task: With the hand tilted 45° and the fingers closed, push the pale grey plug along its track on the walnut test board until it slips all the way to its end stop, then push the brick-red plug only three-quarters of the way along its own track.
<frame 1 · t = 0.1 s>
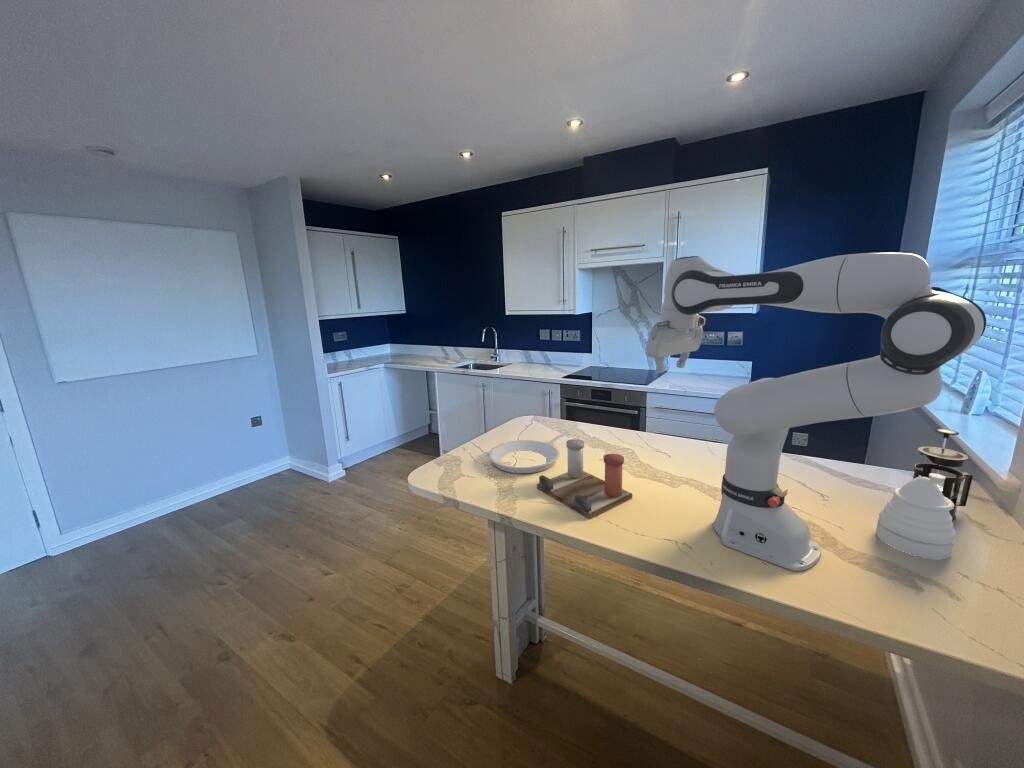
hand: (670, 369, 112), 39 cm above the breakfast bar, tool pointing down, fingers open, 8 cm apart
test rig: (583, 493, 124), on the breakfast bar
french press: (932, 512, 107), on the breakfast bar
pan: (536, 457, 154), on the breakfast bar
honey pot: (911, 542, 96), on the breakfast bar
red plug: (613, 475, 119), point 8 cm above the breakfast bar, slide at 0.0 cm
grey plug: (575, 458, 131), point 8 cm above the breakfast bar, slide at 0.0 cm
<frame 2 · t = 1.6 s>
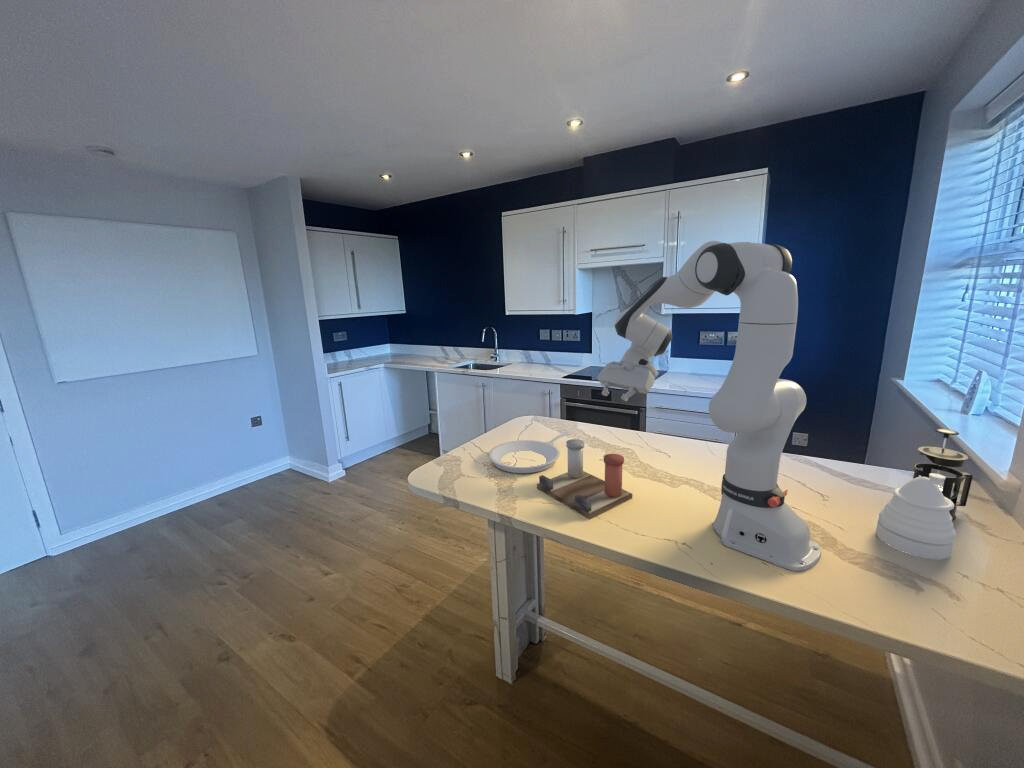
hand: (613, 397, 135), 26 cm above the breakfast bar, tool tilted 45°, fingers open, 7 cm apart
nothing on the breakfast bar moved.
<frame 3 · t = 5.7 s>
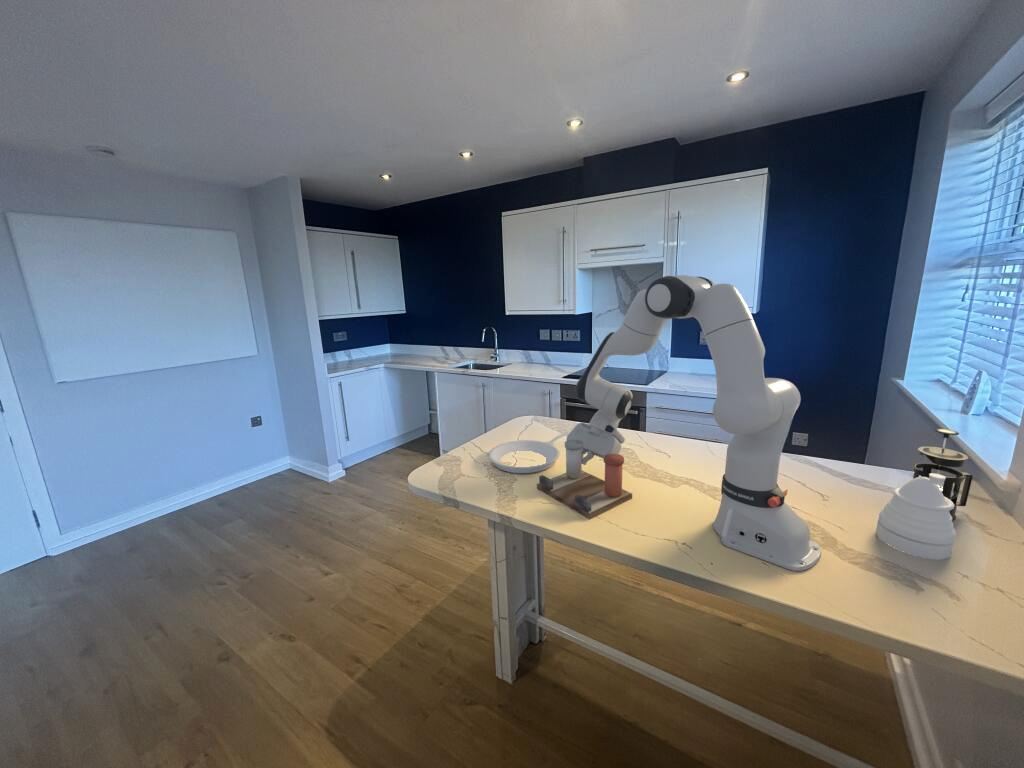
hand: (580, 462, 133), 5 cm above the breakfast bar, tool tilted 45°, fingers closed, pressing on grey plug
grey plug: (573, 459, 131), point 8 cm above the breakfast bar, slide at 0.7 cm, touching gripper
everything else where it was.
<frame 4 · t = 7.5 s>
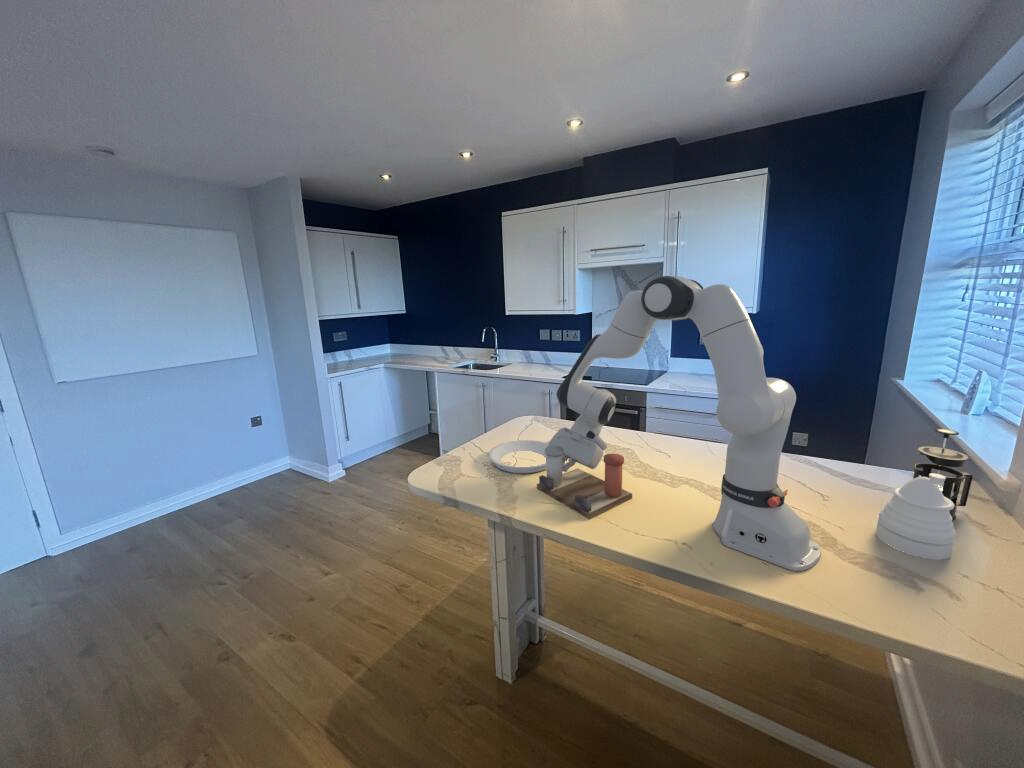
hand: (561, 470, 129), 5 cm above the breakfast bar, tool tilted 45°, fingers closed, pressing on grey plug
grey plug: (554, 466, 126), point 8 cm above the breakfast bar, slide at 9.1 cm, touching gripper
everything else where it was.
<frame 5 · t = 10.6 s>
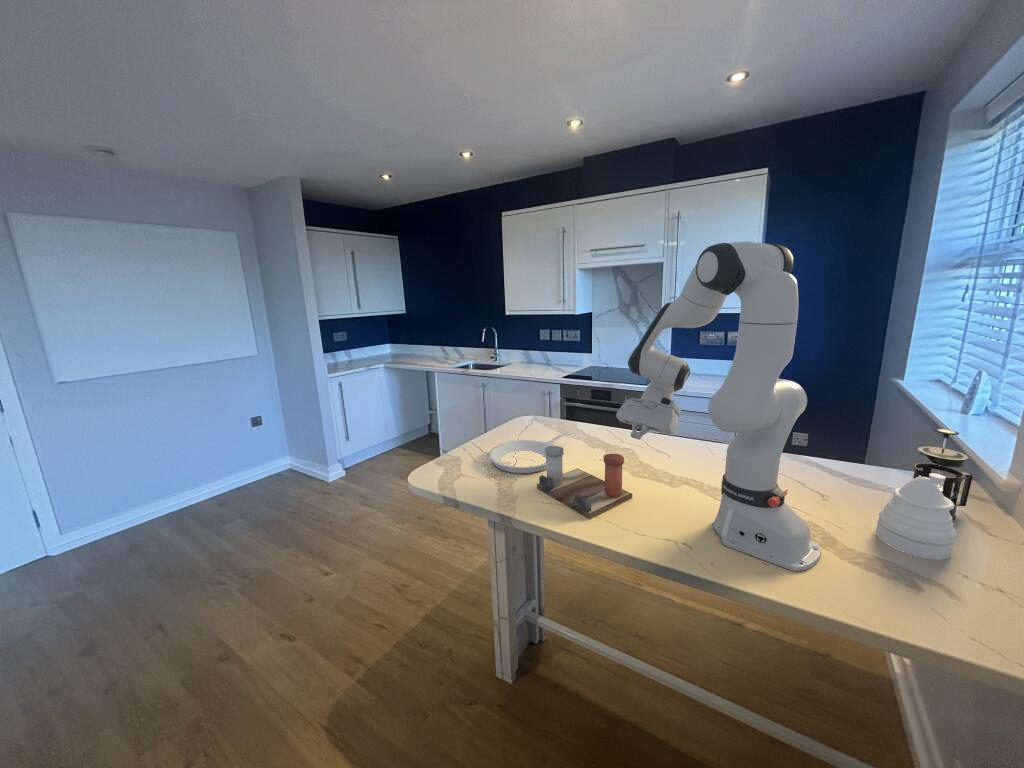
hand: (634, 437, 128), 15 cm above the breakfast bar, tool tilted 45°, fingers closed
grey plug: (554, 466, 126), point 8 cm above the breakfast bar, slide at 9.0 cm
everything else where it was.
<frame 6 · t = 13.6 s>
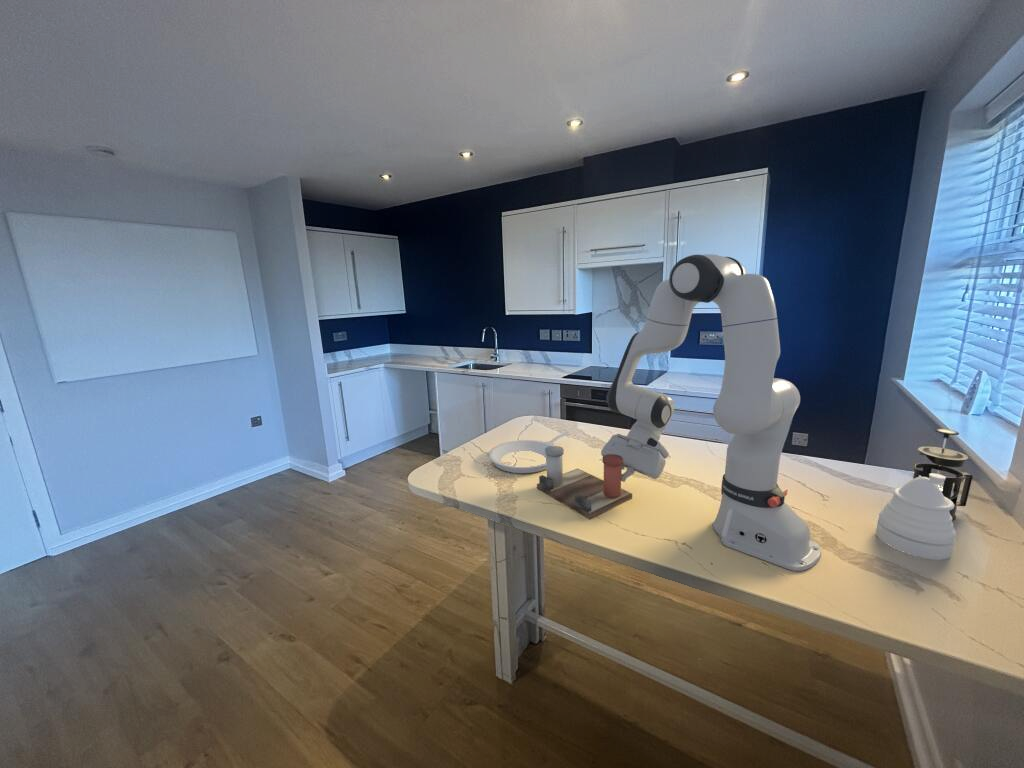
hand: (619, 479, 121), 5 cm above the breakfast bar, tool tilted 45°, fingers closed, pressing on red plug
red plug: (612, 475, 118), point 8 cm above the breakfast bar, slide at 0.5 cm, touching gripper
everything else where it was.
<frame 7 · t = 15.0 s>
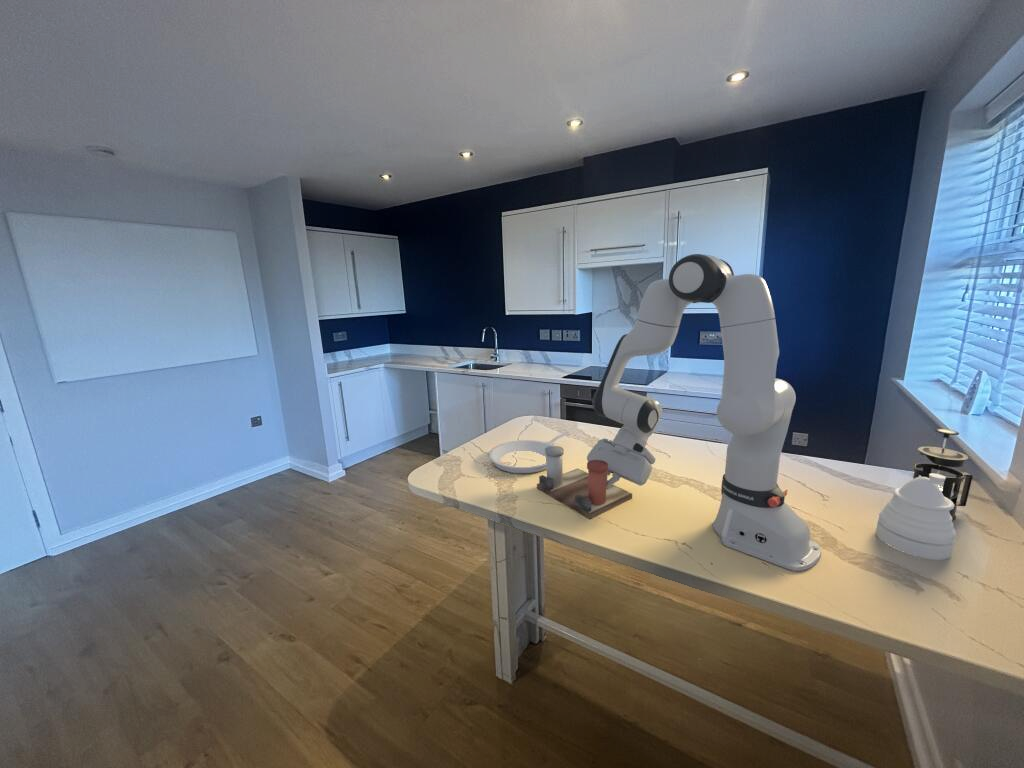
hand: (604, 486, 117), 5 cm above the breakfast bar, tool tilted 45°, fingers closed, pressing on red plug
red plug: (597, 482, 115), point 8 cm above the breakfast bar, slide at 6.9 cm, touching gripper
everything else where it was.
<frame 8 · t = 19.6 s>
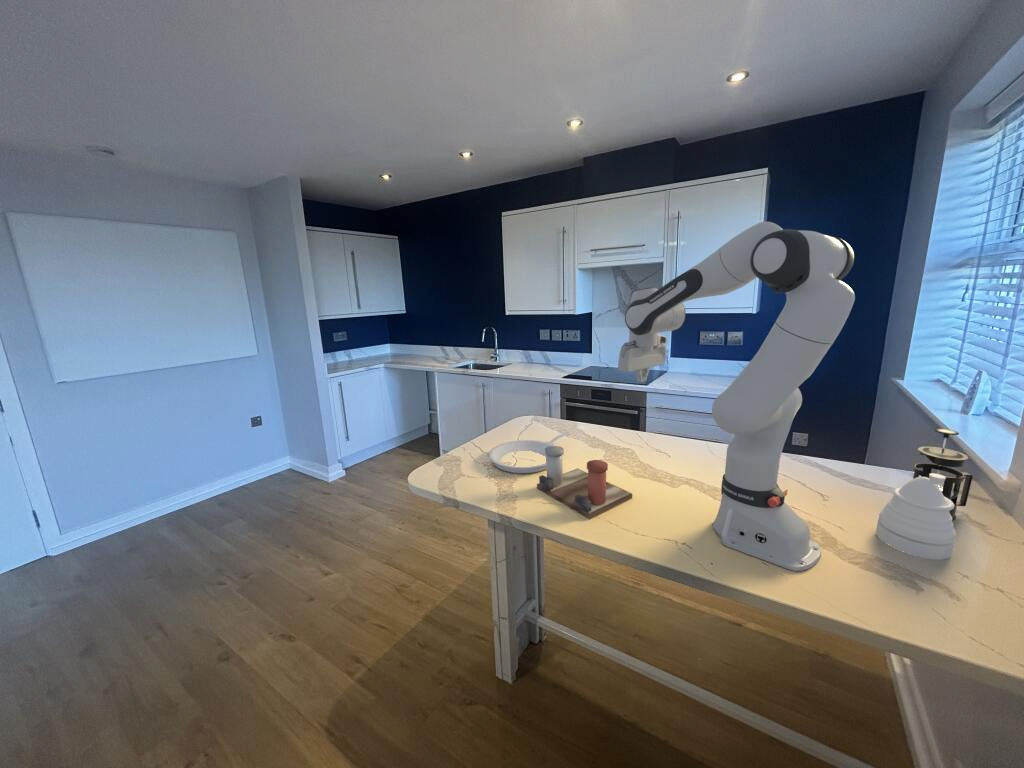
hand: (641, 381, 132), 31 cm above the breakfast bar, tool pointing down, fingers closed
red plug: (597, 482, 115), point 8 cm above the breakfast bar, slide at 7.0 cm
everything else where it was.
at the end: grey plug slide at 9.0 cm; red plug slide at 7.0 cm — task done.
